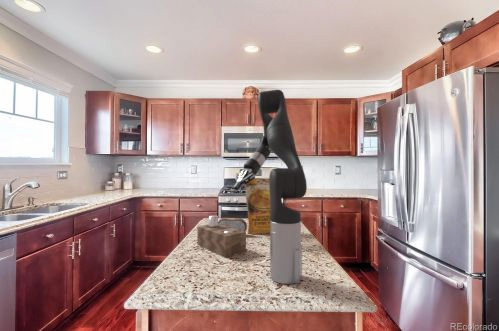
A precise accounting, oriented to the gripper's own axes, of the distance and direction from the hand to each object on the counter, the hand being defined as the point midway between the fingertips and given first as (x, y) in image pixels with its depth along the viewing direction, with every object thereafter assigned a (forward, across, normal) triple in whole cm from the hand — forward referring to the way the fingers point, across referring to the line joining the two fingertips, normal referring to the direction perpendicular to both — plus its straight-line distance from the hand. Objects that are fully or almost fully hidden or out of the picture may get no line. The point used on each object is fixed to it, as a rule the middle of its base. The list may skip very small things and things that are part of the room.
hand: (235, 189), depth 117 cm
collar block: (+25, +5, +8) cm, 27 cm away
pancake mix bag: (+3, -2, +31) cm, 31 cm away
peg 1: (+22, 0, +5) cm, 22 cm away
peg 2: (+25, +11, +9) cm, 29 cm away
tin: (+14, -9, +20) cm, 26 cm away
